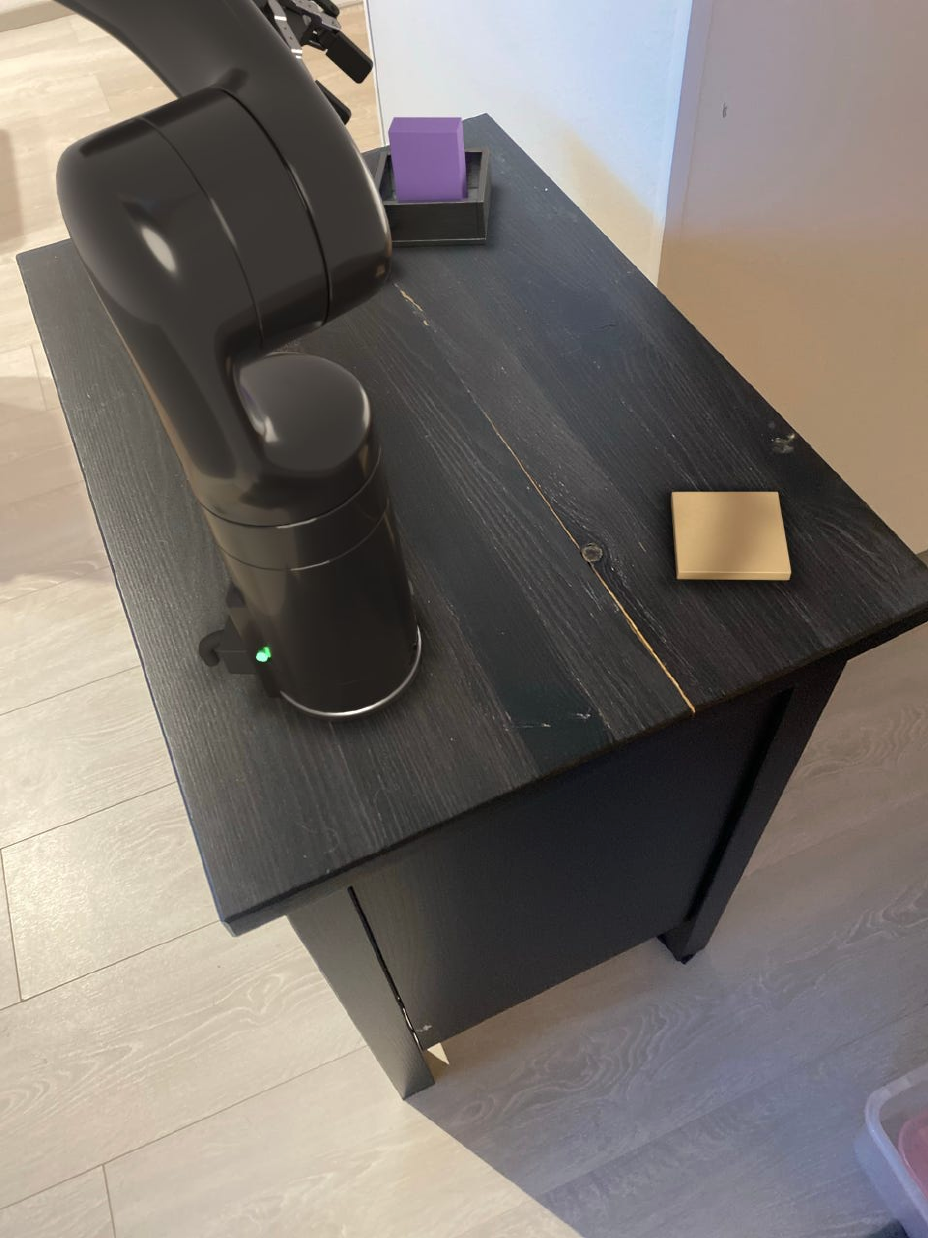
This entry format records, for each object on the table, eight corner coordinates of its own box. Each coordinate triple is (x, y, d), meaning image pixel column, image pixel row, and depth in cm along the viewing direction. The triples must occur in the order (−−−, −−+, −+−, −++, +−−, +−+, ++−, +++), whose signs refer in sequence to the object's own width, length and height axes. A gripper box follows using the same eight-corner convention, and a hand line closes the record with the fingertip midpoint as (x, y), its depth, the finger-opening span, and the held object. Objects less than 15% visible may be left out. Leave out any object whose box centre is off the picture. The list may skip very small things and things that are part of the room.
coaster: (676, 579, 61) (677, 571, 60) (670, 499, 65) (671, 491, 64) (789, 580, 60) (791, 572, 59) (775, 499, 64) (778, 491, 63)
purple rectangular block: (464, 220, 86) (457, 131, 80) (399, 218, 87) (387, 131, 80) (468, 204, 87) (461, 116, 81) (405, 203, 88) (393, 116, 82)
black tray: (375, 247, 86) (368, 204, 82) (387, 193, 91) (381, 150, 87) (485, 244, 84) (483, 201, 81) (491, 189, 90) (489, 146, 86)
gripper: (194, -52, 79) (351, 91, 87) (133, 24, 71) (312, 174, 78) (238, -132, 74) (400, 26, 81) (177, -61, 66) (363, 108, 73)
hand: (356, 98), depth 80 cm, fingers open, 8 cm apart
